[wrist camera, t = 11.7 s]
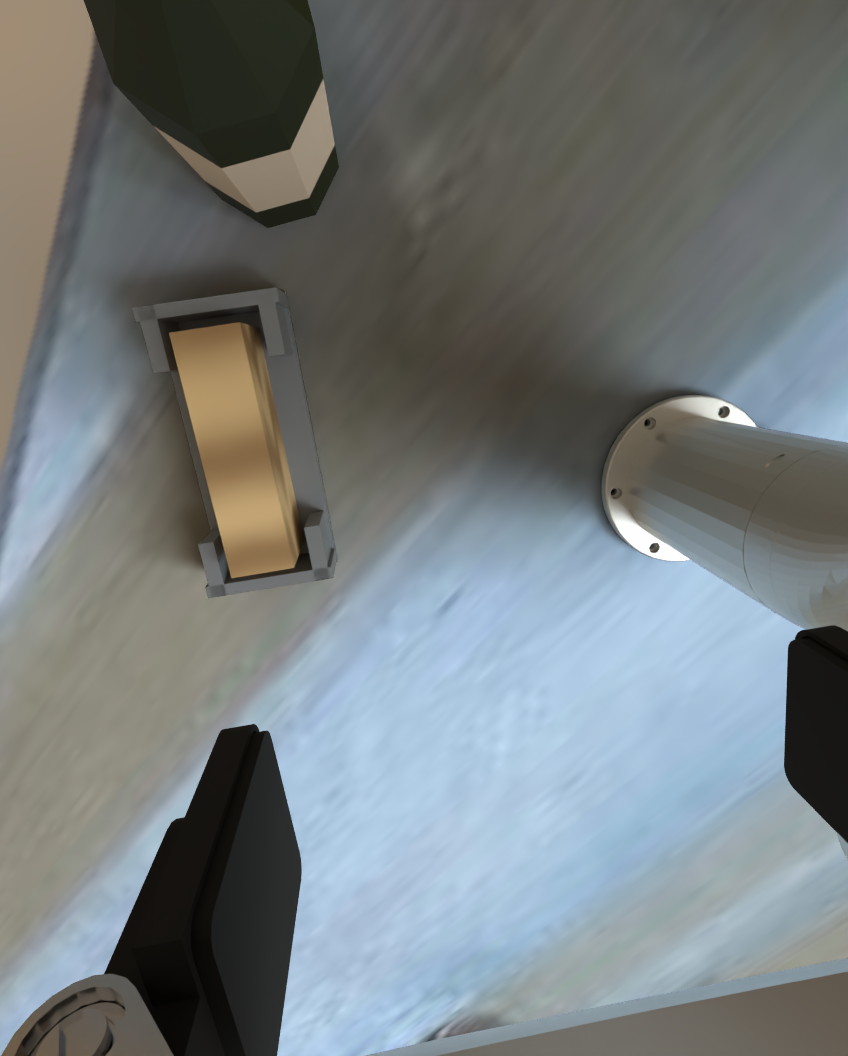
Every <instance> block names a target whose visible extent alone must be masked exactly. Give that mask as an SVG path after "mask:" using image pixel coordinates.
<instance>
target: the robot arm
mask: <svg viewBox="0 0 848 1056" xmlns="http://www.w3.org/2000/svg"><path fill="white" fill-rule="evenodd" d="M719 409H720V412H719V414H718V411H719ZM646 419H647V421H648V423H647V425H644V423H645V420H646ZM613 489H615V491H614V493H613V494H611V491H612V490H613ZM602 500H603V505H604V509H605V513H606V515H607V517H608V519H609V522H610V524H611V525H612V527H613V528H614V530H615V531H616V533H617V534H618V535H619V536H620V537H621V538H622V539H623V540H624V541H625V542H626V543H627V544H628V545H630V546H631V547H633V548H634V549H636V550H637V551H639V552H640V553H642V554H644V555H646V556H649V557H651V558H655V559H659V560H664V561H687V560H692V561H693V562H695V563H696V564H698V565H699V566H701V567H703V568H704V569H706V570H707V571H709V572H711V573H712V574H714V575H715V576H717V577H719V578H720V579H722V580H723V581H725V582H727V583H728V584H730V585H731V586H733V587H735V588H736V589H738V590H739V591H741V592H743V593H744V594H746V595H747V596H749V597H751V598H752V599H754V600H755V601H757V602H759V603H760V604H762V605H763V606H765V607H767V608H768V609H770V610H771V611H773V612H775V613H777V614H778V615H780V616H782V617H783V618H785V619H787V620H788V621H790V622H791V623H793V624H795V625H798V626H800V627H802V628H804V629H806V630H801V631H800V632H798V634H797V635H796V637H795V640H793V641H791V642H790V644H789V647H788V668H787V697H786V726H785V756H784V768H785V773H786V776H787V778H788V781H789V782H790V784H791V785H792V787H793V788H794V789H795V790H796V791H797V792H798V793H799V794H800V795H801V796H802V797H803V798H804V799H805V800H806V801H807V802H808V803H809V804H810V805H811V806H812V807H813V808H814V809H815V811H816V812H817V813H818V814H819V815H820V816H821V817H822V818H823V819H824V820H825V821H826V822H827V823H828V824H829V825H830V826H831V827H832V828H833V829H834V830H835V831H836V832H837V835H838V840H839V842H840V845H841V847H842V849H843V852H844V854H845V856H846V858H847V859H848V443H846V442H840V441H834V440H828V439H822V438H817V437H811V436H805V435H799V434H794V433H788V432H782V431H776V430H771V429H765V428H759V427H757V426H756V424H755V422H754V421H753V420H752V419H751V418H750V417H749V416H748V415H747V414H746V413H745V412H744V411H743V410H741V409H740V408H738V407H737V406H735V405H734V404H732V403H730V402H727V401H725V400H722V399H720V398H716V397H710V396H703V395H684V396H677V397H672V398H669V399H666V400H663V401H661V402H658V403H656V404H654V405H652V406H651V407H649V408H647V409H645V410H644V411H642V412H641V413H640V414H639V415H637V416H636V417H635V418H634V419H633V420H631V421H630V422H629V423H628V424H627V426H626V427H625V428H624V429H623V430H622V432H621V433H620V434H619V435H618V437H617V439H616V440H615V442H614V444H613V445H612V447H611V449H610V451H609V454H608V457H607V459H606V462H605V465H604V470H603V476H602ZM651 544H652V545H651ZM650 545H651V547H649V546H650ZM300 883H301V857H300V852H299V848H298V844H297V840H296V836H295V832H294V828H293V824H292V820H291V816H290V812H289V807H288V803H287V799H286V795H285V791H284V787H283V783H282V779H281V775H280V771H279V767H278V763H277V759H276V755H275V751H274V747H273V743H272V739H271V736H270V733H269V732H268V731H262V732H259V729H258V727H257V726H256V725H255V724H252V725H246V726H240V727H234V728H229V729H223V730H221V732H220V733H219V735H218V738H217V740H216V743H215V745H214V747H213V750H212V752H211V755H210V757H209V760H208V762H207V764H206V767H205V769H204V772H203V774H202V777H201V779H200V782H199V784H198V786H197V789H196V791H195V794H194V796H193V799H192V801H191V804H190V806H189V808H188V811H187V813H186V816H185V817H184V818H179V819H176V820H174V821H173V822H172V823H171V824H170V826H169V828H168V829H167V831H166V834H165V836H164V838H163V841H162V843H161V845H160V847H159V850H158V852H157V854H156V857H155V859H154V861H153V863H152V866H151V868H150V870H149V873H148V875H147V877H146V879H145V882H144V884H143V886H142V889H141V891H140V893H139V896H138V898H137V900H136V902H135V905H134V907H133V909H132V912H131V914H130V916H129V918H128V921H127V923H126V925H125V928H124V930H123V932H122V934H121V937H120V939H119V941H118V944H117V946H116V948H115V951H114V953H113V955H112V957H111V960H110V962H109V964H108V967H107V969H106V971H105V973H104V974H103V975H94V976H91V977H89V978H86V979H83V980H81V981H78V982H75V983H73V984H71V985H70V986H68V987H66V988H65V989H63V990H61V991H60V992H58V993H57V994H55V995H53V996H52V997H51V998H50V999H48V1000H47V1001H46V1002H45V1003H44V1004H43V1005H41V1006H40V1007H39V1008H38V1009H37V1010H35V1011H34V1012H33V1013H32V1014H31V1015H30V1016H29V1018H28V1019H27V1020H26V1021H25V1022H24V1023H23V1025H22V1026H21V1027H20V1028H19V1029H18V1030H17V1031H16V1033H15V1034H14V1035H13V1037H12V1039H11V1040H10V1042H9V1044H8V1045H7V1047H6V1049H5V1050H4V1052H3V1054H2V1055H1V1056H277V1051H278V1044H279V1037H280V1029H281V1022H282V1015H283V1007H284V1000H285V993H286V985H287V978H288V971H289V963H290V956H291V949H292V942H293V934H294V927H295V920H296V912H297V905H298V898H299V890H300ZM366 1056H848V958H845V959H840V960H835V961H830V962H825V963H820V964H815V965H809V966H804V967H799V968H794V969H789V970H784V971H779V972H773V973H768V974H763V975H758V976H753V977H748V978H743V979H737V980H732V981H727V982H722V983H717V984H712V985H707V986H702V987H697V988H692V989H687V990H681V991H676V992H671V993H666V994H661V995H656V996H651V997H646V998H641V999H636V1000H631V1001H626V1002H621V1003H616V1004H611V1005H606V1006H601V1007H596V1008H591V1009H586V1010H581V1011H576V1012H571V1013H566V1014H561V1015H556V1016H551V1017H547V1018H542V1019H537V1020H532V1021H527V1022H522V1023H517V1024H512V1025H507V1026H502V1027H497V1028H492V1029H487V1030H482V1031H477V1032H472V1033H467V1034H463V1035H458V1036H453V1037H448V1038H443V1039H438V1040H433V1041H429V1042H424V1043H420V1044H415V1045H411V1046H406V1047H402V1048H397V1049H393V1050H388V1051H384V1052H380V1053H375V1054H371V1055H366Z"/></svg>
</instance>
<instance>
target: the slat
mask: <svg viewBox="0 0 848 1056" xmlns="http://www.w3.org/2000/svg"><path fill="white" fill-rule="evenodd" d="M169 335H170V339H171V343H172V347H173V351H174V355H175V359H176V363H177V367H178V371H179V375H180V378H181V382H182V386H183V390H184V394H185V398H186V402H187V406H188V410H189V414H190V418H191V422H192V425H193V429H194V433H195V437H196V441H197V445H198V449H199V453H200V457H201V461H202V465H203V469H204V473H205V476H206V480H207V484H208V488H209V492H210V496H211V500H212V504H213V508H214V512H215V516H216V520H217V523H218V527H219V531H220V535H221V539H222V543H223V547H224V551H225V555H226V559H227V563H228V567H229V570H230V574H231V578H237V577H243V576H249V575H255V574H261V573H267V572H273V571H279V570H285V569H291V568H294V567H295V564H296V562H297V559H298V556H299V554H300V551H301V548H302V546H303V543H304V537H303V532H302V527H301V523H300V518H299V513H298V509H297V504H296V499H295V495H294V490H293V485H292V481H291V476H290V471H289V467H288V462H287V457H286V453H285V448H284V443H283V439H282V434H281V429H280V425H279V420H278V415H277V411H276V406H275V401H274V397H273V392H272V387H271V383H270V378H269V373H268V369H267V364H266V359H265V355H264V350H263V345H262V341H261V336H260V331H259V328H258V327H254V326H251V325H247V324H244V323H241V322H237V323H231V324H224V325H217V326H211V327H204V328H198V329H191V330H184V331H178V332H171V333H169Z"/></svg>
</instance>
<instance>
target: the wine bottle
mask: <svg viewBox="0 0 848 1056" xmlns="http://www.w3.org/2000/svg"><path fill="white" fill-rule="evenodd" d="M84 2H85V5H86V8H87V11H88V13H89V16H90V19H91V22H92V25H93V27H94V30H95V33H96V36H97V39H98V41H99V44H100V47H101V50H102V52H103V55H104V58H105V61H106V64H107V66H108V69H109V72H110V75H111V78H112V80H113V83H114V84H115V85H116V86H117V87H118V89H119V90H120V91H121V92H122V93H123V94H124V95H125V96H126V97H127V98H128V99H129V100H130V101H131V102H132V104H133V105H134V106H135V107H136V108H137V109H138V110H139V111H140V112H141V113H142V114H143V115H144V116H145V117H146V119H147V120H148V121H149V122H150V123H151V124H152V125H153V126H154V127H155V128H156V129H157V130H158V131H159V132H160V134H161V135H162V136H163V137H164V138H165V139H166V140H167V141H168V142H169V143H170V144H171V145H172V146H173V147H174V149H175V150H176V151H177V152H178V153H179V154H180V155H181V156H182V157H183V158H184V159H185V160H186V161H187V162H188V164H189V165H190V166H191V167H192V168H193V169H194V170H195V171H196V172H197V173H198V174H199V175H200V176H201V177H202V179H203V180H204V181H205V182H206V183H207V184H208V185H209V186H210V187H211V188H212V189H213V190H214V191H215V192H216V194H217V195H218V196H219V197H220V198H221V199H222V200H224V201H225V202H227V203H229V204H230V205H232V206H233V207H235V208H237V209H238V210H240V211H242V212H243V213H245V214H246V215H248V216H250V217H251V218H253V219H255V220H256V221H258V222H259V223H261V224H263V225H264V226H266V227H268V228H269V227H273V226H276V225H280V224H284V223H287V222H291V221H294V220H298V219H302V218H305V217H309V216H312V215H316V213H317V211H318V209H319V207H320V204H321V202H322V200H323V198H324V196H325V194H326V192H327V190H328V188H329V186H330V184H331V182H332V180H333V178H334V176H335V174H336V172H337V170H338V168H339V166H338V160H337V155H336V149H335V143H334V137H333V131H332V126H331V120H330V114H329V108H328V103H327V97H326V91H325V85H324V79H323V74H322V68H321V62H320V56H319V50H318V45H317V39H316V33H315V27H314V24H313V20H312V16H311V12H310V9H309V5H308V1H307V0H84Z"/></svg>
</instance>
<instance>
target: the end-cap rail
mask: <svg viewBox="0 0 848 1056" xmlns="http://www.w3.org/2000/svg"><path fill="white" fill-rule="evenodd" d="M132 310H133V314H134V318H135V321H136V322H139V323H140V324H141V328H142V331H143V335H144V339H145V343H146V347H147V351H148V354H149V358H150V362H151V366H152V370H153V373H165V372H171V376H172V380H173V384H174V388H175V392H176V396H177V400H178V404H179V408H180V412H181V416H182V420H183V424H184V427H185V431H186V435H187V439H188V443H189V447H190V451H191V455H192V459H193V463H194V467H195V471H196V475H197V479H198V483H199V487H200V491H201V495H202V499H203V503H204V507H205V511H206V515H207V519H208V523H209V527H210V532H209V533H208V534H207V535H206V537H205V538H204V539H203V540H202V541H201V542H200V543H199V544H198V547H199V550H200V554H201V558H202V562H203V566H204V570H205V573H206V577H207V581H208V584H207V585H206V587H205V588H206V592H207V596H208V598H212V597H218V596H225V595H231V594H237V593H243V592H249V591H256V590H262V589H268V588H274V587H280V586H286V585H293V584H299V583H305V582H311V581H317V580H324V579H330V578H333V577H334V571H335V565H336V562H337V554H336V548H335V543H334V538H333V533H332V528H331V522H330V517H329V512H328V507H327V502H326V496H325V491H324V486H323V481H322V476H321V471H320V465H319V460H318V455H317V450H316V445H315V439H314V434H313V429H312V424H311V419H310V413H309V408H308V403H307V398H306V393H305V387H304V382H303V377H302V372H301V367H300V361H299V356H298V351H297V346H296V341H295V335H294V330H293V325H292V320H291V315H290V309H289V304H288V299H287V294H286V292H285V291H283V292H282V291H280V290H279V289H278V288H276V287H275V288H268V289H261V290H254V291H247V292H240V293H232V294H225V295H218V296H211V297H204V298H197V299H190V300H183V301H176V302H169V303H161V304H154V305H147V306H140V307H133V308H132ZM237 322H241V323H244V324H247V325H251V326H254V327H258V328H259V331H260V336H261V341H262V345H263V350H264V355H265V359H266V364H267V369H268V373H269V378H270V383H271V387H272V392H273V397H274V401H275V406H276V411H277V415H278V420H279V425H280V429H281V434H282V439H283V443H284V448H285V453H286V457H287V462H288V467H289V471H290V476H291V481H292V485H293V490H294V495H295V499H296V504H297V509H298V513H299V518H300V523H301V527H302V532H303V537H304V543H303V546H302V548H301V551H300V554H299V556H298V559H297V562H296V564H295V567H294V568H291V569H285V570H279V571H273V572H267V573H261V574H255V575H249V576H243V577H237V578H231V574H230V570H229V567H228V563H227V559H226V555H225V551H224V547H223V543H222V539H221V535H220V531H219V527H218V523H217V520H216V516H215V512H214V508H213V504H212V500H211V496H210V492H209V488H208V484H207V480H206V476H205V473H204V469H203V465H202V461H201V457H200V453H199V449H198V445H197V441H196V437H195V433H194V429H193V425H192V422H191V418H190V414H189V410H188V406H187V402H186V398H185V394H184V390H183V386H182V382H181V378H180V375H179V371H178V367H177V363H176V359H175V355H174V351H173V347H172V343H171V339H170V335H169V333H171V332H178V331H184V330H191V329H198V328H204V327H211V326H217V325H224V324H231V323H237Z"/></svg>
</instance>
